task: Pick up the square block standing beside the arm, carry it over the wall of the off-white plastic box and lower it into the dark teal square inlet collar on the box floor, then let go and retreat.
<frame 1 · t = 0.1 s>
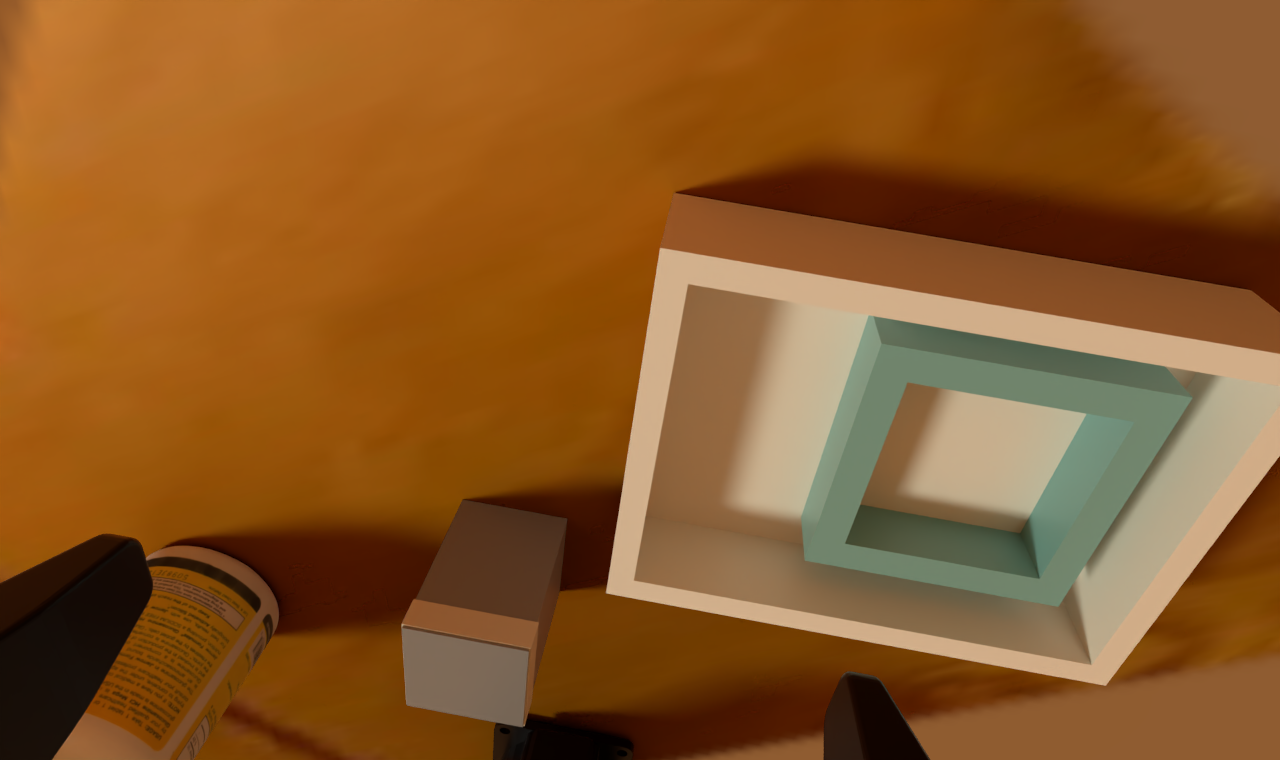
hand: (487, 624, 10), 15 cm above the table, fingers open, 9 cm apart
square block: (512, 546, 30), on the table
walled box: (891, 415, 24), on the table
pill bottle: (218, 587, 33), on the table
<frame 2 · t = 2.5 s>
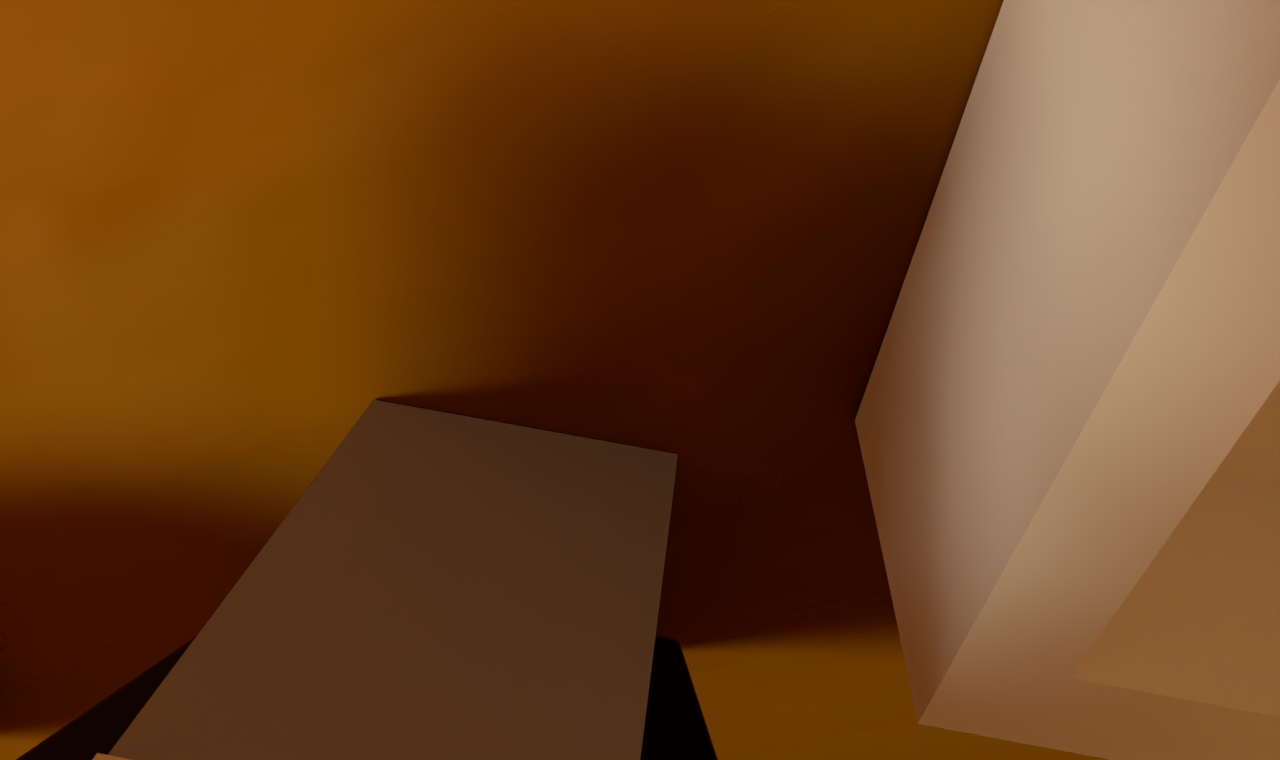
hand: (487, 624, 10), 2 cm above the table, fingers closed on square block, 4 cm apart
square block: (518, 538, 11), on the table, touching gripper
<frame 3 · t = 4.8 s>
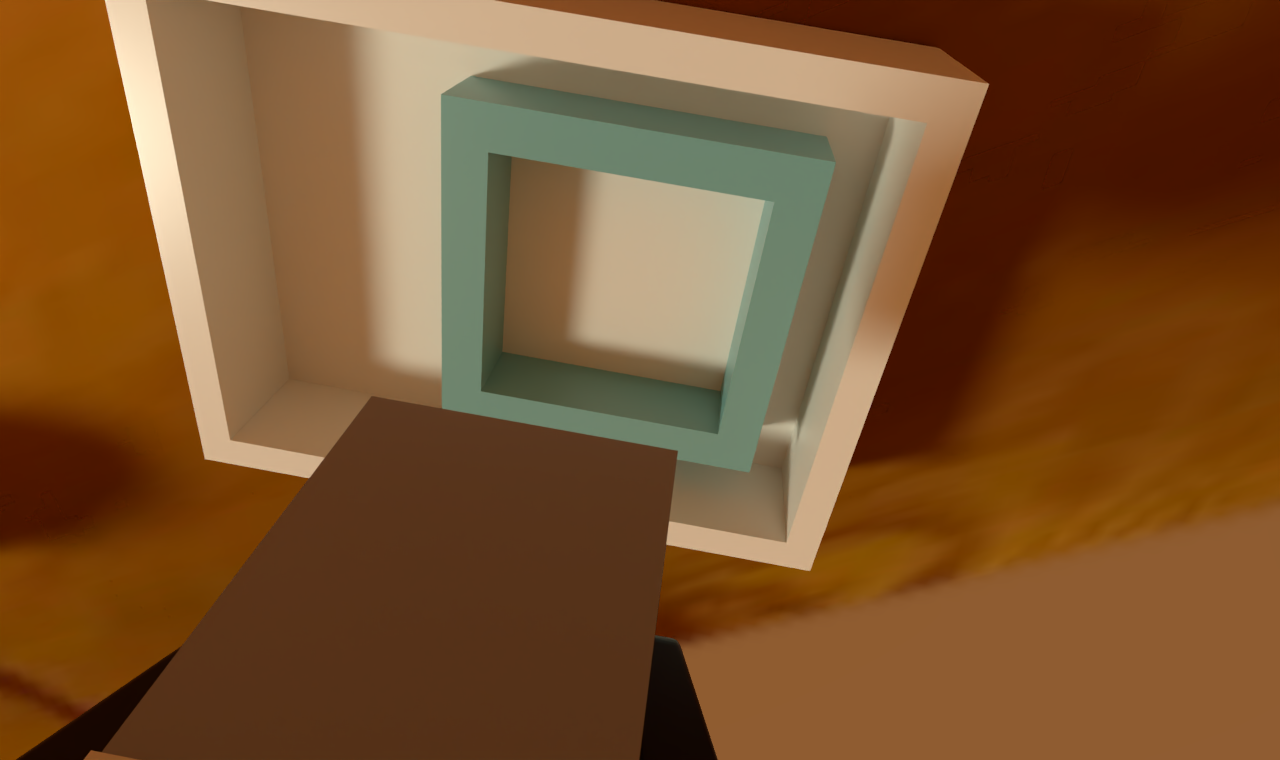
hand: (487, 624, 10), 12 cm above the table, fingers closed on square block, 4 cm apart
square block: (517, 535, 11), point 11 cm above the table, touching gripper
walled box: (554, 241, 20), on the table
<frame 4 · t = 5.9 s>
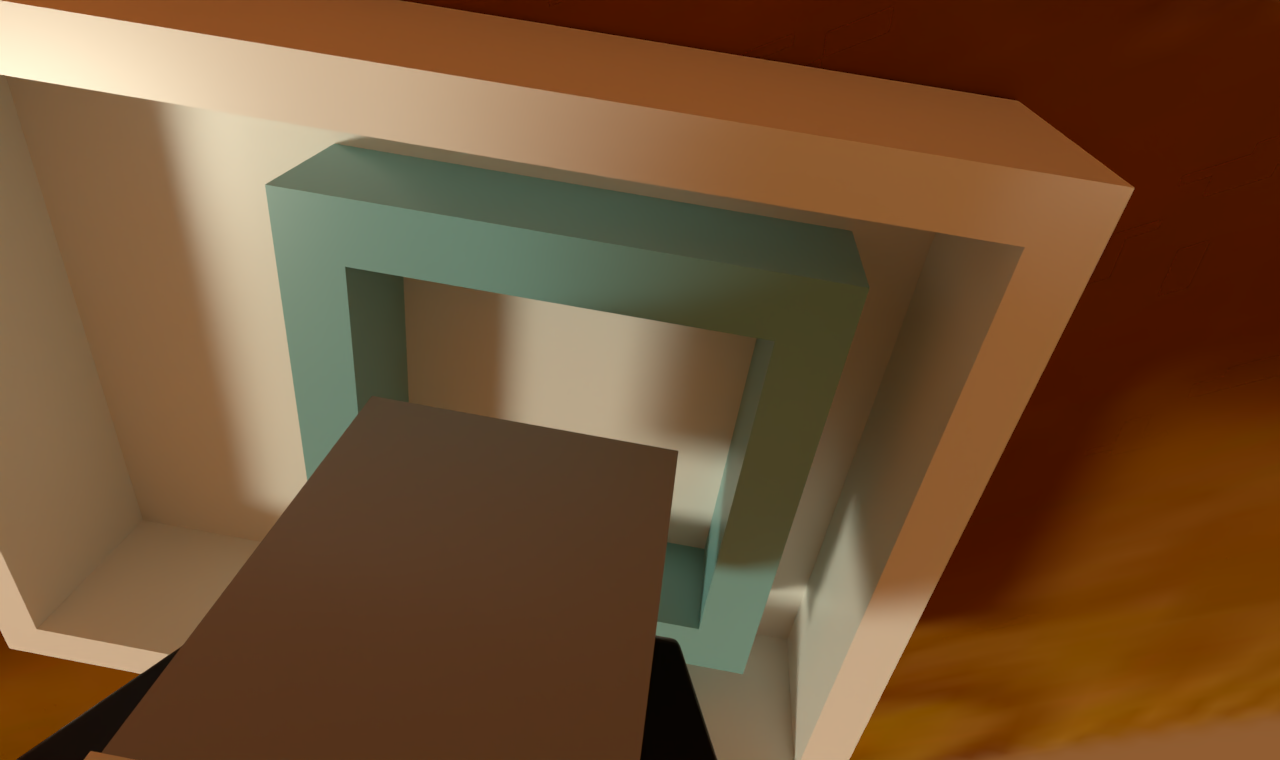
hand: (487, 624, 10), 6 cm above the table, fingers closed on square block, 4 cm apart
square block: (517, 535, 11), point 4 cm above the table, touching gripper
walled box: (477, 354, 15), on the table
when the fingers open (4 cm above the table, at t = 7.0 s): square block drops 1 cm, resting on walled box.
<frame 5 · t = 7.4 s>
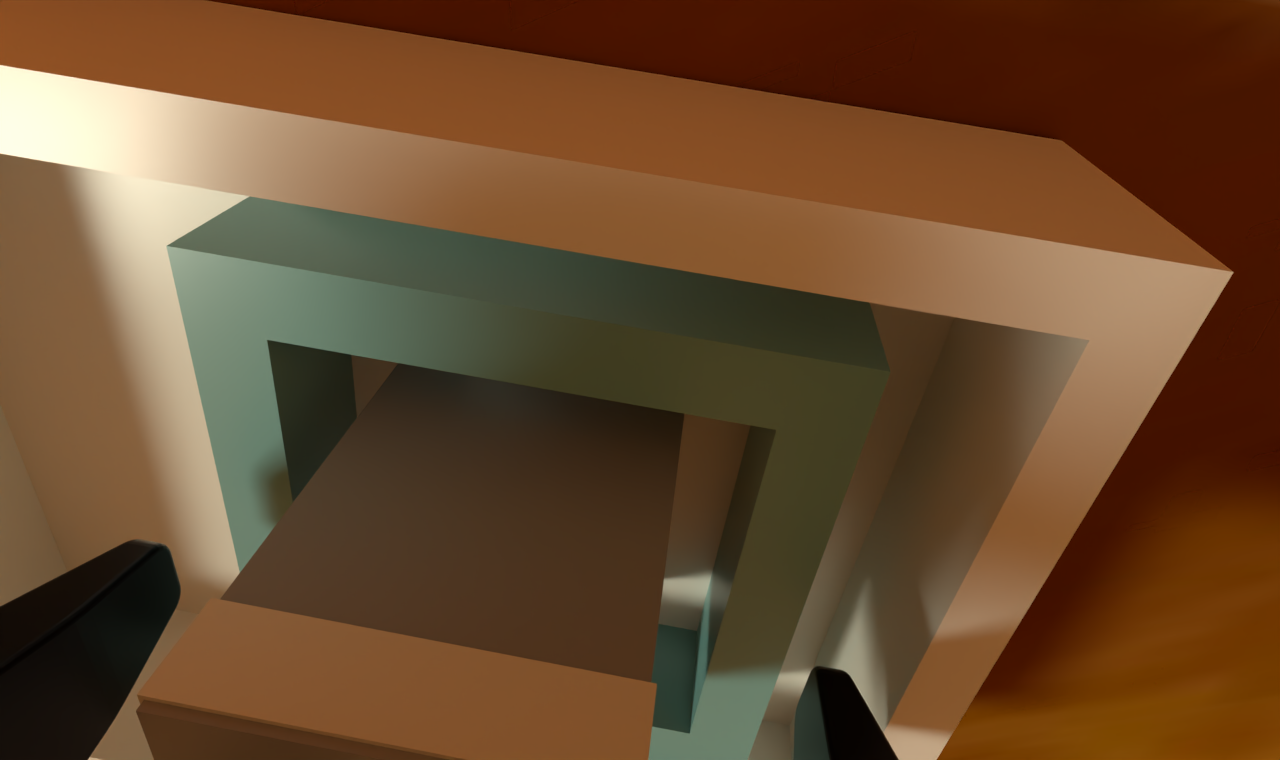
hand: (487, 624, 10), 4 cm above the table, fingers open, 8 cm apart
square block: (541, 470, 12), point 1 cm above the table, touching walled box
walled box: (441, 415, 13), on the table
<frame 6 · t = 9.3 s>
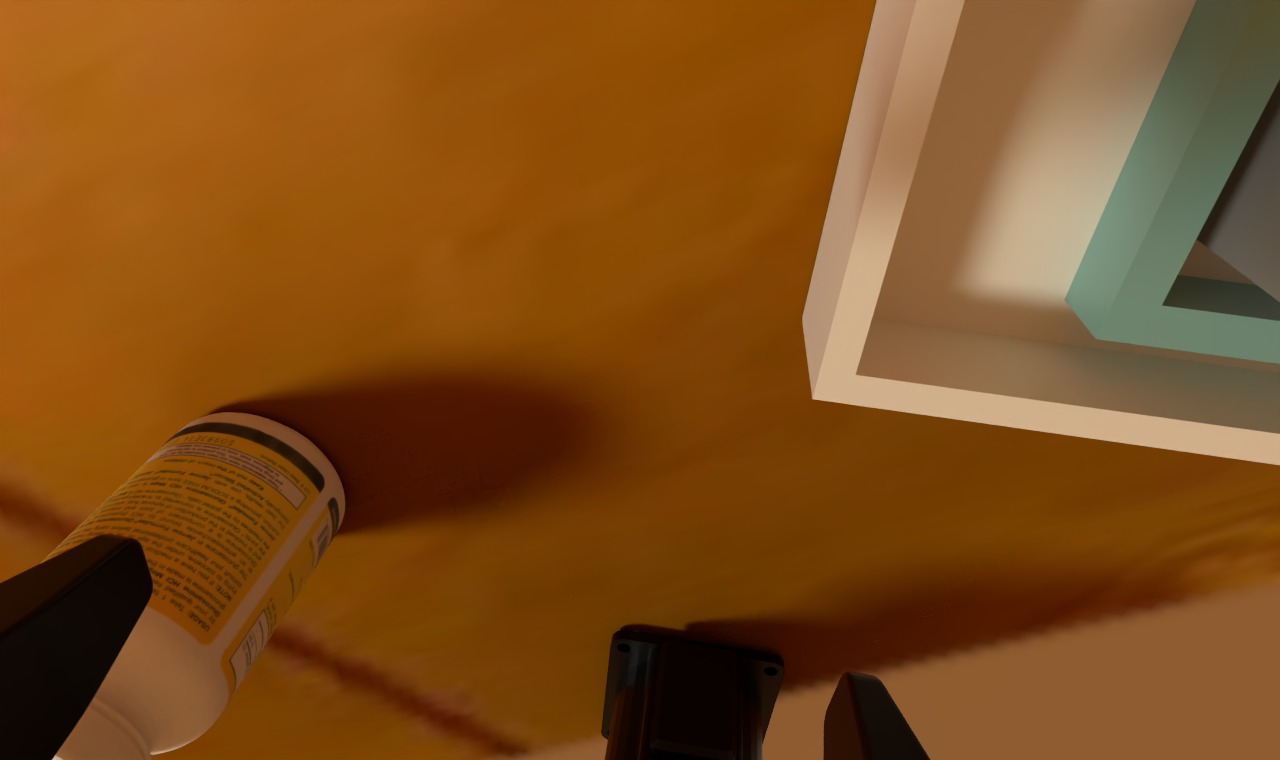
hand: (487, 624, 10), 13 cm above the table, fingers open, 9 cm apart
walled box: (1207, 135, 17), on the table
pill bottle: (269, 473, 27), on the table
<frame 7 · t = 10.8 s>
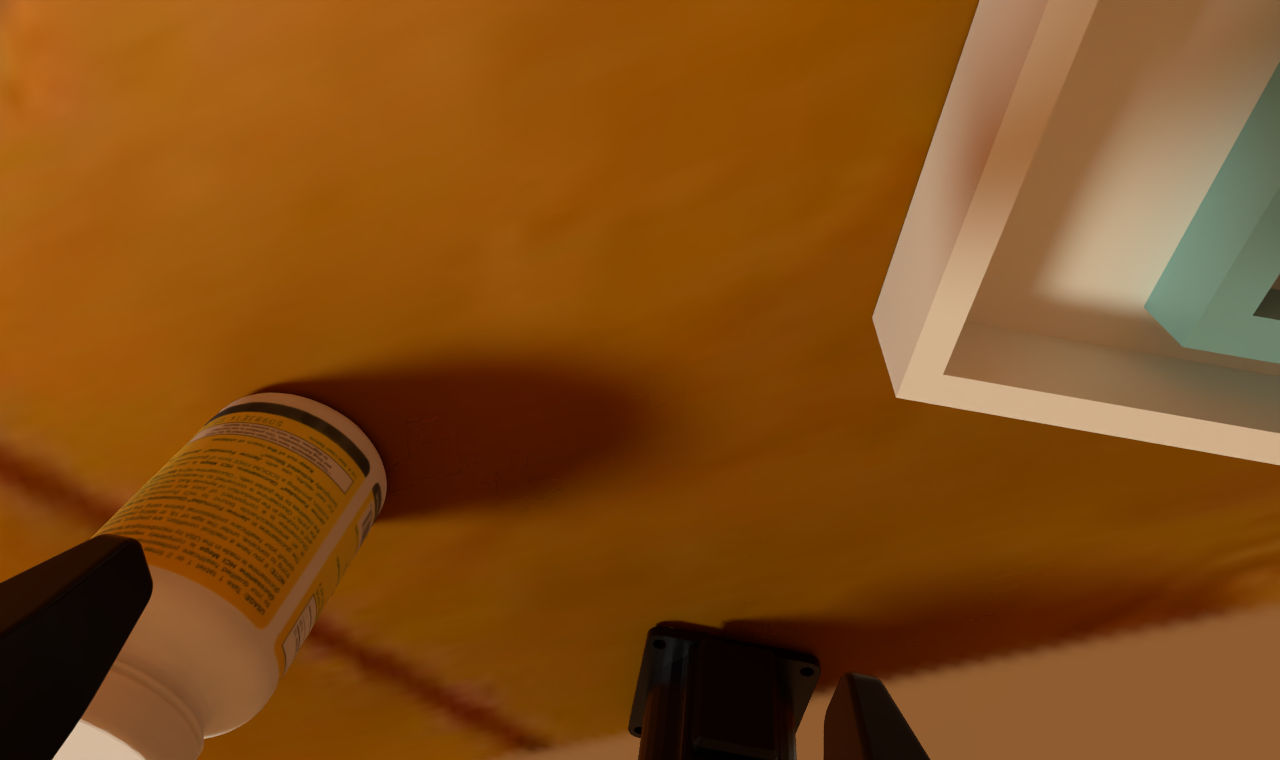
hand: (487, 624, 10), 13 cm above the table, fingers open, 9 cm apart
pill bottle: (308, 457, 26), on the table
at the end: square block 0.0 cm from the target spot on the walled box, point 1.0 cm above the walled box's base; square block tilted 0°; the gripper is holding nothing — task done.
